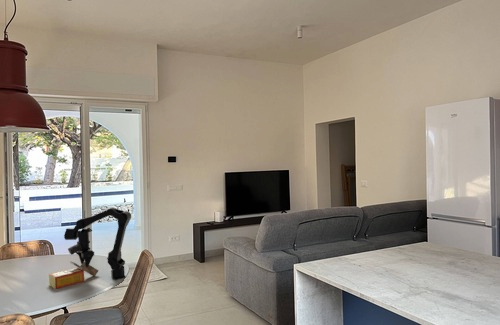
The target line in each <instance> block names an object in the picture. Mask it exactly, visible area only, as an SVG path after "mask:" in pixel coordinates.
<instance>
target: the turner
mask: <svg viewBox="0 0 500 325" xmlns="http://www.w3.org/2000/svg"><path fill="white" fill-rule="evenodd" d="M70 264H72V265H73V266H75V267H76V268H80V269H82V270H84V273H85V272H86V273H87V274H89V275H90V276H92V277H96V275H97V274H98V273H99V272H100V271H99V269H97V268H95V267H94V266H92V265H91V264H89V266H88V267H86V265H85V261H84V262H83V263H82V264H81V265H79V264H78V263H76V262H74V261H70Z"/></svg>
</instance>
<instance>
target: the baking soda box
mask: <svg viewBox="0 0 500 325" xmlns="http://www.w3.org/2000/svg"><path fill="white" fill-rule="evenodd" d="M83 282H85V271H84V270H82V269H80V268H78V267H73V268H69V269H64V270H60V271H55V272H51V273H49V274H48V284H49V286H50V287H52V288H53V289H54V290H56V289H60V288H64V287H69V286H72V285H76V284H81V283H83Z"/></svg>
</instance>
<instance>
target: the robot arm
mask: <svg viewBox="0 0 500 325" xmlns="http://www.w3.org/2000/svg"><path fill="white" fill-rule="evenodd" d="M109 216H111V217H113V218H114V219H116V220H117V225H118V227H117V232H116V235H115V239H114V240H115V241H114V244H113V248H112V250H110V251H109V252H108V253H107V258H106V260H107V264H108V265H109V266H110V269H111V270H110V274H111V278H112V279H113V280H119V279H125V278H126V274H125V266H124V265H125V264H126V261H125V259H123V258H122V247H123V246H122V245H123V242H124V237H125V235H126V229H127V227H128V225H129V223H130V221H131V219H132V214H131V213H130V211H126V210H125V211H124V210H122V209H121V210H120V209H117V208H115V207H110V208H108V209H107V210H106V209H105V210H103V211H102V212H99V213H97V214H94V215H90V216H86V217H83V218H80V219H77V220H76V223H75V225H74V227H73V228H70V227H68V228H66V229H65V231H64V235H63V238H64V240H65V241H74V240H75V241H76V240H77V239H78V241H77V242H76V244H74V245H72V246H70V247H69V248H67V250H68V252H69V254H70V255H74V254H76V255H78V257H79V258H78V259H79V261H80V264H81V265H82V263H83V262H85V265H86V267H88V266H89V265H91V261H92V259H93V257H94V256H95V251H93V250H92V249H91V247H90V243H91V240H90V234H89V233H90V232H93V229H92V228H90V226H91V225H93V224H94V223H95V222H97V221H99V220H103V219H104V218H107V217H109Z"/></svg>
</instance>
